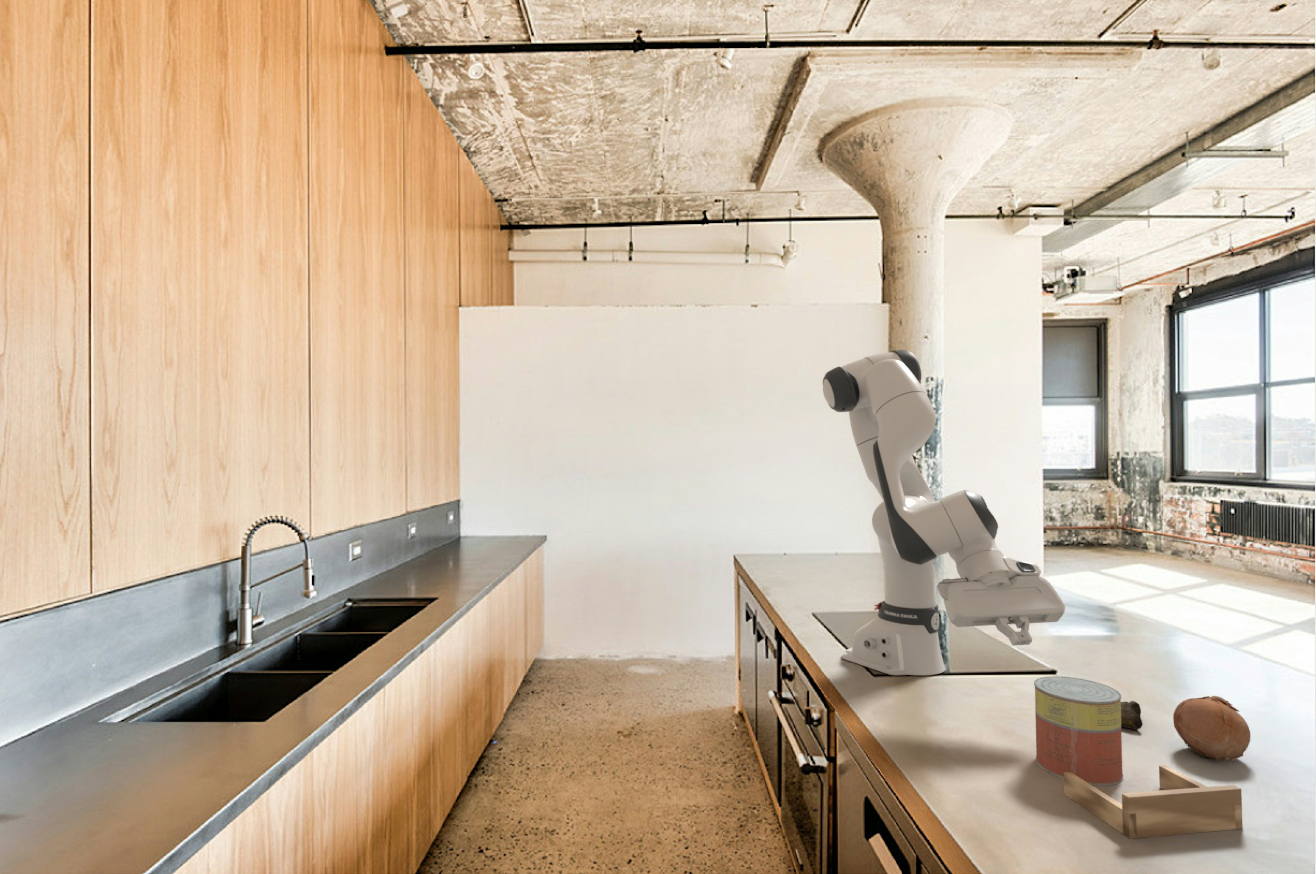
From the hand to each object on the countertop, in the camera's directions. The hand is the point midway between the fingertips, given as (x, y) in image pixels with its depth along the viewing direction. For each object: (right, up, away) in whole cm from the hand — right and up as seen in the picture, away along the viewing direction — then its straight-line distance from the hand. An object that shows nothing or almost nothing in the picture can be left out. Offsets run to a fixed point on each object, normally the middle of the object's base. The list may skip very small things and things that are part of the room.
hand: (1022, 643), depth 114 cm
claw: (+20, -16, +10) cm, 28 cm away
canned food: (+1, -15, -13) cm, 20 cm away
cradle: (+3, -15, -25) cm, 29 cm away
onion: (+25, -15, -9) cm, 31 cm away
